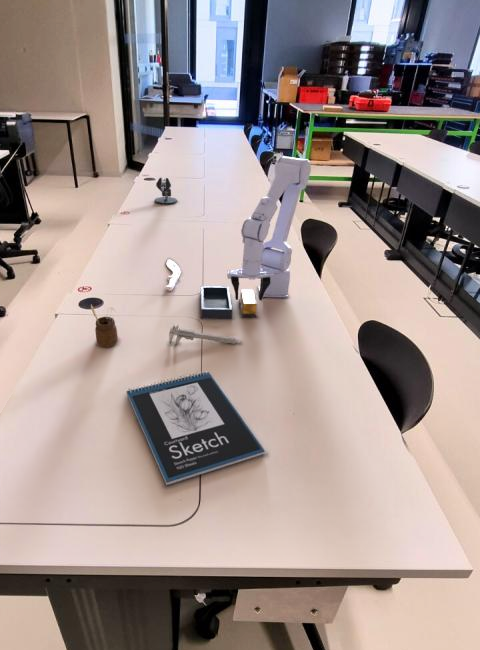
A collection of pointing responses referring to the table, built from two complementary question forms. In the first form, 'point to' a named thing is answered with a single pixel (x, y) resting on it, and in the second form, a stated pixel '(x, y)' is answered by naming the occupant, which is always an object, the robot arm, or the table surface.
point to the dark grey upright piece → (165, 192)
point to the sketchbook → (192, 427)
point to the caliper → (197, 336)
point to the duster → (248, 304)
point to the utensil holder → (105, 330)
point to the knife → (174, 277)
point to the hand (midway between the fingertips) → (248, 298)
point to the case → (215, 302)
